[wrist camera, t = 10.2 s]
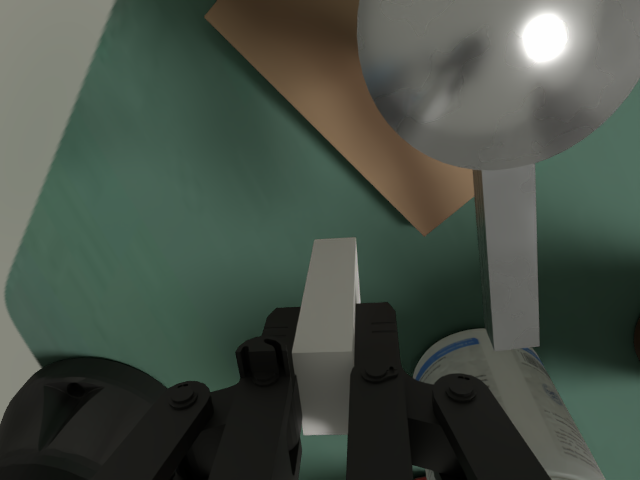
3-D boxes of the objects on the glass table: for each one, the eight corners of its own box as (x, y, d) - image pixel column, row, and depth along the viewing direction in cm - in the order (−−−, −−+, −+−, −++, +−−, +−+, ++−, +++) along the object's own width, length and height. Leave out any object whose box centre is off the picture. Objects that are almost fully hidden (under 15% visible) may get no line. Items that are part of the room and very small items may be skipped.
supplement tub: (410, 422, 41) (435, 628, 27) (411, 323, 37) (441, 506, 23) (536, 423, 40) (625, 634, 27) (551, 320, 36) (664, 509, 23)
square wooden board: (421, 227, 34) (444, 307, 25) (211, 16, 29) (147, 23, 20) (681, 12, 27) (834, 19, 19) (465, -300, 23) (533, -488, 14)
